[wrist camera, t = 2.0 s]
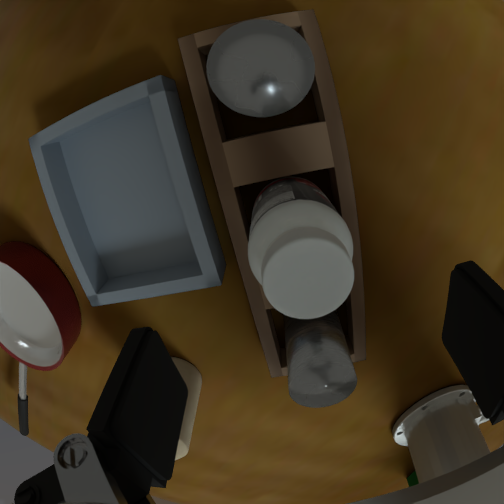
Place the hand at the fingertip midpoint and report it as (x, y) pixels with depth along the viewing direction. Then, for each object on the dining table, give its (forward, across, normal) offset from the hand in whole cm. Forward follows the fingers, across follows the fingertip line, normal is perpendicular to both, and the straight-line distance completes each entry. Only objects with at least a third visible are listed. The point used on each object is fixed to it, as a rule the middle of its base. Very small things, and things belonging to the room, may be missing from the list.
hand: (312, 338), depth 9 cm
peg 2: (+14, 0, +10) cm, 17 cm away
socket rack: (+14, 0, +1) cm, 14 cm away
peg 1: (+14, 0, -8) cm, 16 cm away
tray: (+14, +11, -3) cm, 18 cm away
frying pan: (+14, +32, +11) cm, 37 cm away
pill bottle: (+14, 0, +1) cm, 14 cm away
